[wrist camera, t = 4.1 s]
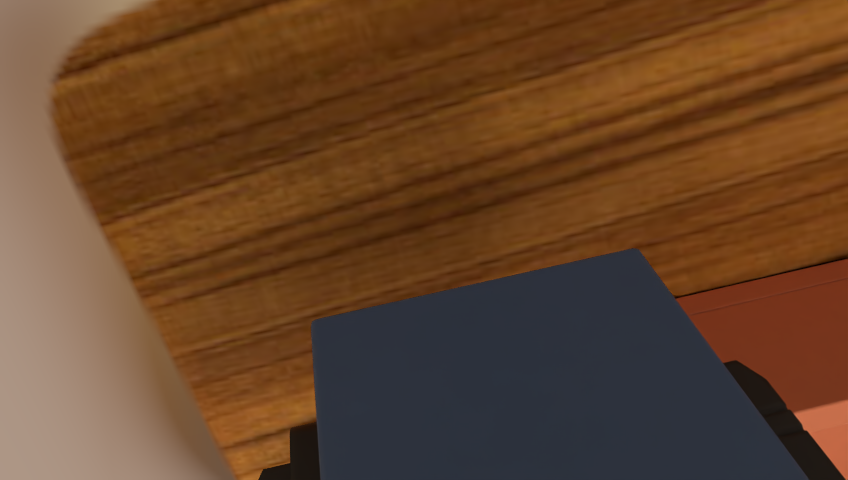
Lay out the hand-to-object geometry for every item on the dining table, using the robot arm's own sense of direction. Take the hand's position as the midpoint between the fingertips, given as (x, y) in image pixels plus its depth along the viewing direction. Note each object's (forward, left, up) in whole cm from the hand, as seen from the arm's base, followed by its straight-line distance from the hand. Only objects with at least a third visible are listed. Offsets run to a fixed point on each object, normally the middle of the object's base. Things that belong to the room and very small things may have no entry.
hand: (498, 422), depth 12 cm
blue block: (0, 0, 0) cm, 0 cm away
